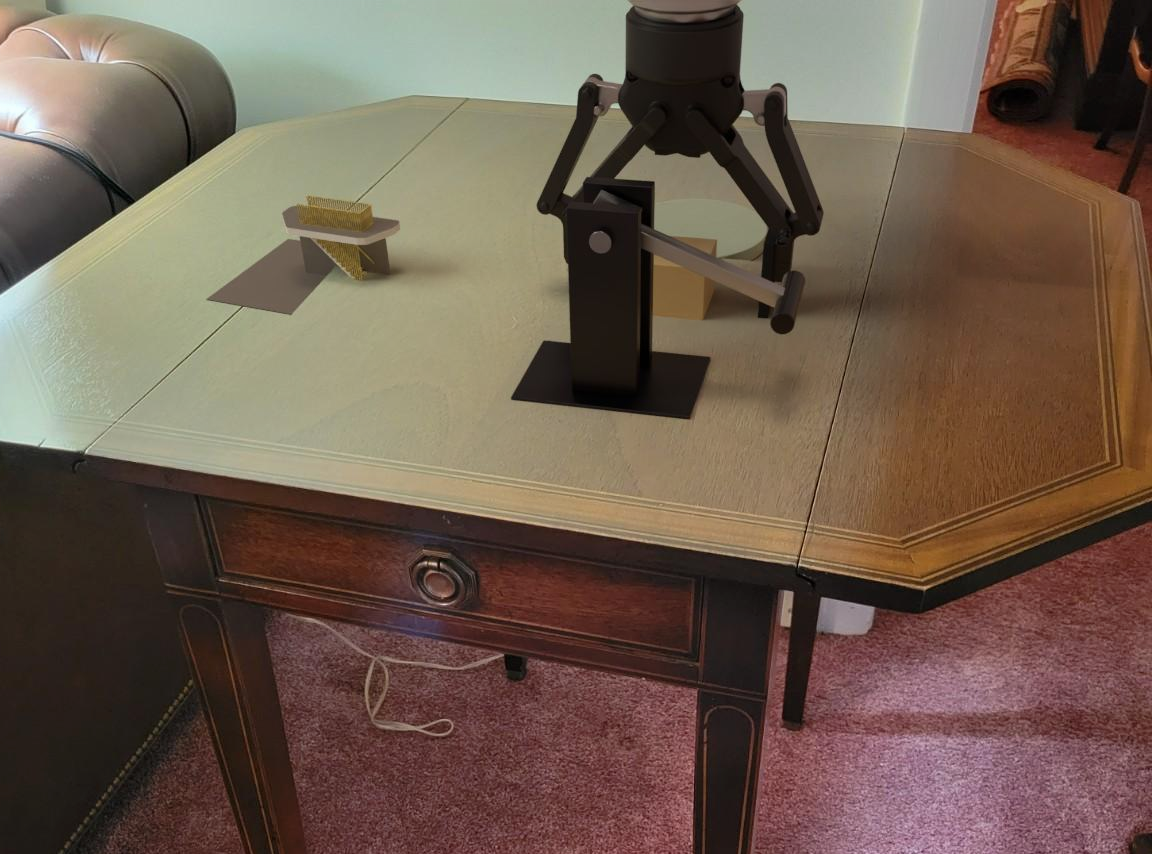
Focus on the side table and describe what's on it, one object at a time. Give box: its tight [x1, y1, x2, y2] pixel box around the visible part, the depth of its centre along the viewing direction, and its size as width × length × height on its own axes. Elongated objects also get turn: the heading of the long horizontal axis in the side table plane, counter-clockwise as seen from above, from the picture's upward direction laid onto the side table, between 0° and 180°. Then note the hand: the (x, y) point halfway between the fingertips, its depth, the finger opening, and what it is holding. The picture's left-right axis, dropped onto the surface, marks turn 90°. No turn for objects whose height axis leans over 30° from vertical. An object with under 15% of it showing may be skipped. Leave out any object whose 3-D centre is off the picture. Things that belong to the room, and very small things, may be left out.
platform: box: [206, 194, 401, 315], centre depth 95 cm, size 12×18×7 cm, turn 67°
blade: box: [594, 190, 806, 335], centre depth 75 cm, size 14×6×2 cm, turn 74°
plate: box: [654, 198, 769, 262], centre depth 101 cm, size 12×12×1 cm
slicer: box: [510, 176, 712, 420], centre depth 78 cm, size 12×8×14 cm, turn 75°
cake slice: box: [653, 236, 717, 321], centre depth 90 cm, size 5×5×5 cm
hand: (674, 311), depth 91 cm, fingers open, 13 cm apart
